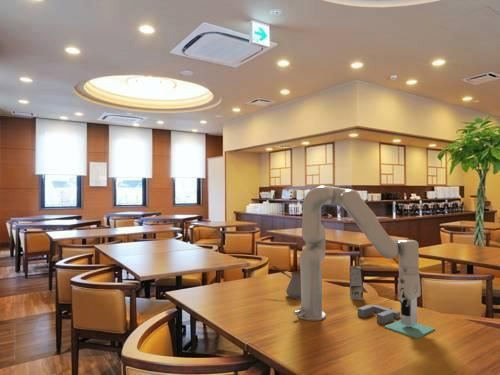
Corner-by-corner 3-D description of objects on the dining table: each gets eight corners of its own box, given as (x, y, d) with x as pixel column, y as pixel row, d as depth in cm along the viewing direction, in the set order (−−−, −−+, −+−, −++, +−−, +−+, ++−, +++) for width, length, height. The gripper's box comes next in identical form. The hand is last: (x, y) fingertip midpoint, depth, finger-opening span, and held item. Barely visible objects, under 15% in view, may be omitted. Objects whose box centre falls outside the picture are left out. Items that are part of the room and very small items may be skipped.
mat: (417, 338, 137) (417, 337, 137) (384, 327, 148) (384, 326, 148) (434, 330, 145) (434, 328, 145) (402, 320, 156) (402, 318, 156)
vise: (383, 324, 152) (382, 316, 152) (357, 315, 162) (357, 308, 162) (403, 315, 162) (403, 308, 162) (378, 308, 172) (378, 301, 172)
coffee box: (363, 300, 185) (363, 269, 185) (350, 299, 186) (350, 268, 186) (361, 295, 194) (361, 265, 194) (349, 294, 195) (349, 265, 195)
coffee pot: (311, 296, 193) (310, 268, 193) (301, 301, 183) (301, 272, 184) (277, 289, 205) (277, 263, 205) (266, 294, 196) (266, 267, 196)
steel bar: (411, 327, 144) (411, 297, 144) (400, 323, 147) (400, 294, 147) (417, 324, 146) (416, 295, 146) (406, 321, 150) (406, 292, 150)
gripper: (406, 274, 139) (406, 321, 139) (427, 268, 149) (428, 312, 149) (388, 271, 145) (389, 315, 145) (410, 265, 155) (410, 307, 155)
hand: (408, 313), depth 147 cm, fingers closed on steel bar, 4 cm apart
